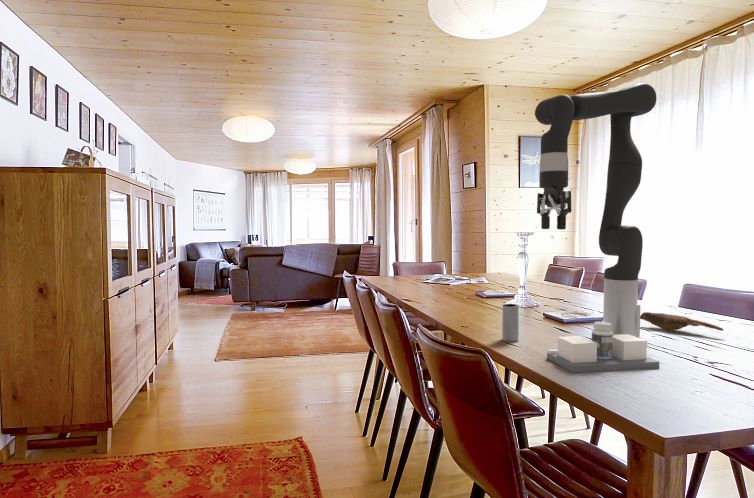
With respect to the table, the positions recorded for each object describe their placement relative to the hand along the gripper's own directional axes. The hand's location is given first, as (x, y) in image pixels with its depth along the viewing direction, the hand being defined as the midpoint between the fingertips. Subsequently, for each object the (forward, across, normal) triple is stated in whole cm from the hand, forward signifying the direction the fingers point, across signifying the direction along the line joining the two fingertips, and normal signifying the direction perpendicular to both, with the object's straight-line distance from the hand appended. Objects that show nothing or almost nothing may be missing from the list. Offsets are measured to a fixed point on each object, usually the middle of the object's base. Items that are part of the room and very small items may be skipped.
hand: (553, 229), depth 137 cm
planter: (+33, +7, +9) cm, 35 cm away
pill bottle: (+31, -19, -2) cm, 37 cm away
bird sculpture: (+33, +8, -47) cm, 58 cm away
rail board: (+32, -19, -2) cm, 38 cm away
